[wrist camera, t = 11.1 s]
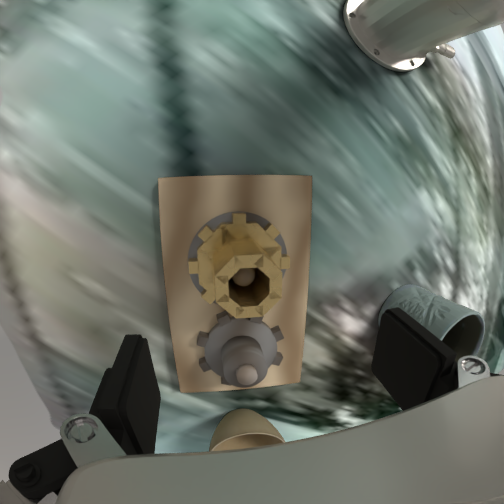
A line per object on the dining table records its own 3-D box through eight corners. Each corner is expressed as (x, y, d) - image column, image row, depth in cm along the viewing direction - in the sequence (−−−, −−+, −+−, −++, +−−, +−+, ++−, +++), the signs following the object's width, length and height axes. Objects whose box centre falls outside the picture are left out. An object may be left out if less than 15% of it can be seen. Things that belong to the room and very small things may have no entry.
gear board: (307, 175, 30) (335, 176, 23) (296, 375, 37) (313, 411, 30) (160, 177, 28) (146, 178, 21) (181, 385, 34) (179, 425, 28)
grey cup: (362, 312, 36) (416, 362, 24) (416, 262, 35) (479, 293, 24) (389, 354, 39) (435, 402, 27) (436, 309, 38) (489, 344, 27)
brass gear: (287, 211, 29) (312, 222, 22) (285, 303, 32) (305, 335, 25) (186, 214, 28) (181, 227, 21) (192, 309, 30) (190, 345, 24)
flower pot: (259, 443, 40) (268, 477, 33) (197, 434, 37) (199, 471, 30) (287, 401, 38) (301, 437, 31) (218, 388, 35) (223, 428, 29)
